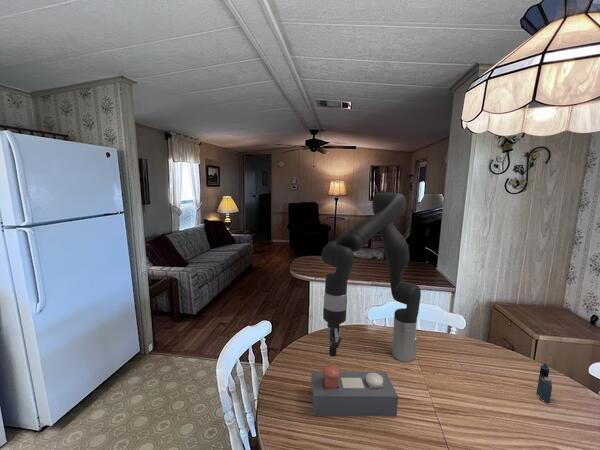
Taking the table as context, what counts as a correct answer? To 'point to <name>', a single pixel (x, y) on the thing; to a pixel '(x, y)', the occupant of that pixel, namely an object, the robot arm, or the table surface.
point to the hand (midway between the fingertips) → (332, 355)
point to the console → (353, 396)
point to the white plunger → (374, 381)
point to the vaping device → (544, 384)
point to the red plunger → (330, 376)
